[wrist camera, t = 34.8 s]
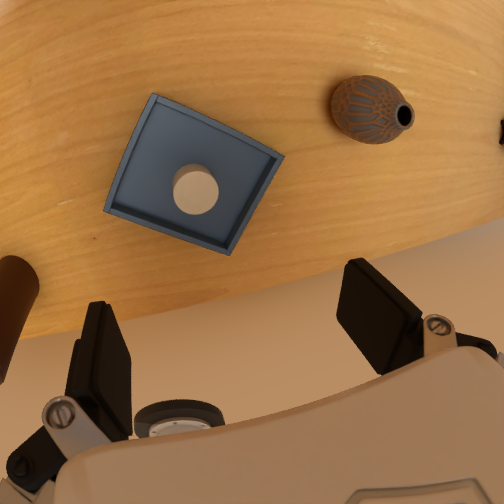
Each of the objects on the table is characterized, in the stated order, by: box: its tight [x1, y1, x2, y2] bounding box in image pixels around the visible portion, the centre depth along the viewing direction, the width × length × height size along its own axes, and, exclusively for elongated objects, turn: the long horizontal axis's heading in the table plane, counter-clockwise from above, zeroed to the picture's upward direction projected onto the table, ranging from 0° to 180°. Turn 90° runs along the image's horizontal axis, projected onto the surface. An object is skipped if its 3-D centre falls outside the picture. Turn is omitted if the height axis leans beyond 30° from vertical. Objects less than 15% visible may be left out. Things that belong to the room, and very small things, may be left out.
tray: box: [103, 93, 285, 256], centre depth 26 cm, size 13×11×2 cm
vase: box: [331, 75, 415, 144], centre depth 24 cm, size 7×7×9 cm
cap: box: [173, 164, 219, 215], centre depth 25 cm, size 4×4×3 cm
